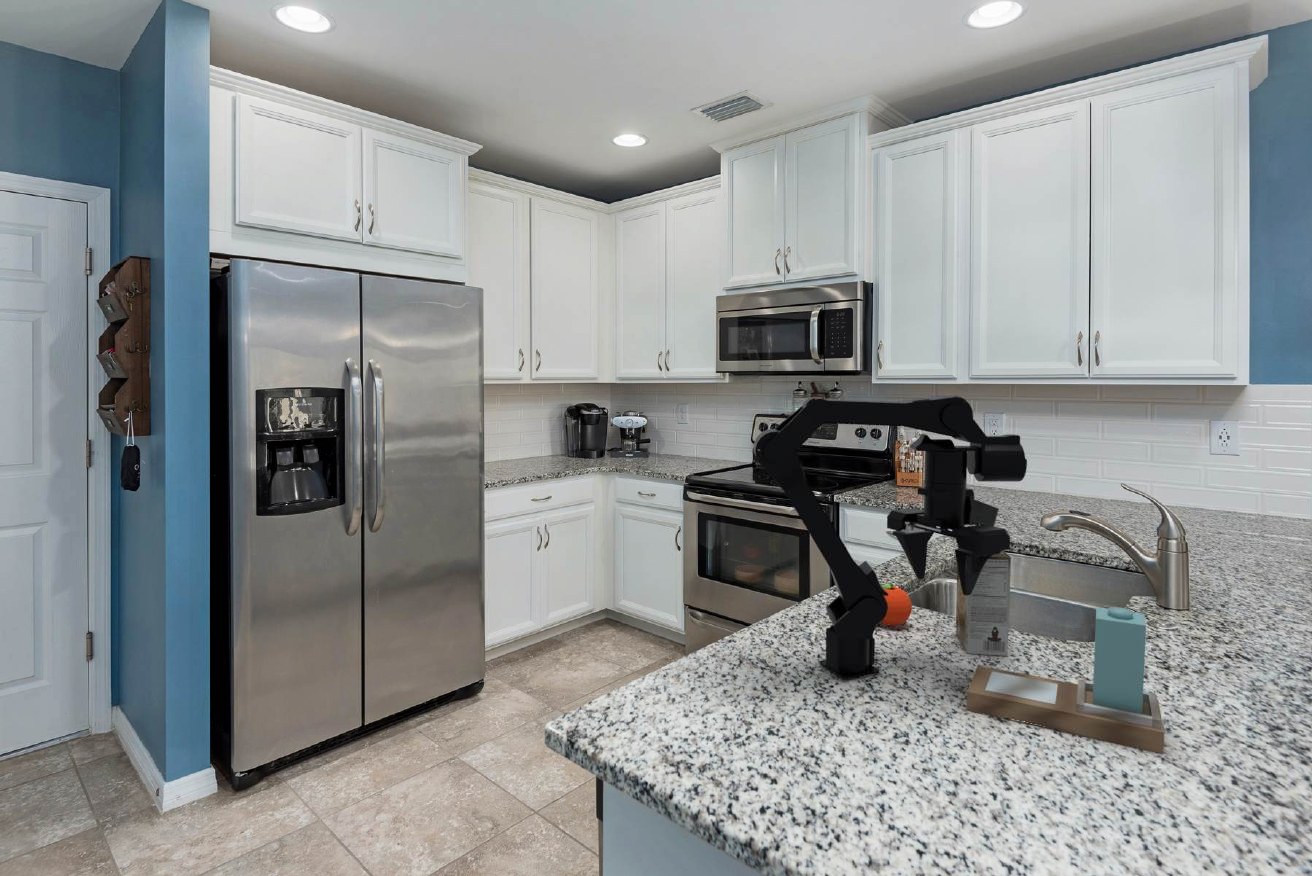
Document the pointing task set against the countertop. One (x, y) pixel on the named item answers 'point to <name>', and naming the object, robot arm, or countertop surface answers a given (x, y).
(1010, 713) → the walnut base plate
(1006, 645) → the coffee box
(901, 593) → the clementine
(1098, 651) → the teal pillar
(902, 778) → the countertop surface
